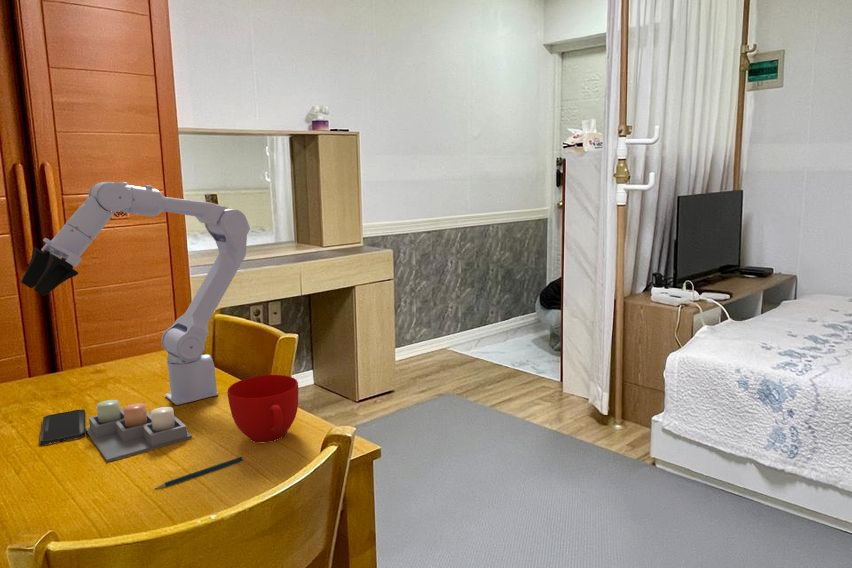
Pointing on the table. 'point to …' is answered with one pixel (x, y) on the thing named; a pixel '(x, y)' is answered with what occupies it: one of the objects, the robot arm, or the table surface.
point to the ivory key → (162, 418)
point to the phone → (63, 426)
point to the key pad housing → (132, 437)
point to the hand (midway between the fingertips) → (32, 289)
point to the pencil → (200, 472)
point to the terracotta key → (135, 415)
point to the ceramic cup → (264, 406)
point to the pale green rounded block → (108, 411)
